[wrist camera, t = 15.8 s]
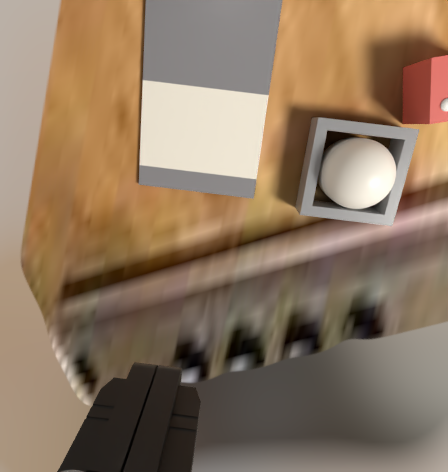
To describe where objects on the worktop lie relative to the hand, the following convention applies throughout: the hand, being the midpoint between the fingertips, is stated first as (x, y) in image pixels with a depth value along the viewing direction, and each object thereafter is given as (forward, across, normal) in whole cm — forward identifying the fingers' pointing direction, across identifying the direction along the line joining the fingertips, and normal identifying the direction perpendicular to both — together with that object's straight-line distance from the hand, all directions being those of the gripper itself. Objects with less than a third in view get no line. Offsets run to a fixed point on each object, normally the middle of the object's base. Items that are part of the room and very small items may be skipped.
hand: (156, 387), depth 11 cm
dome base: (+27, -13, -5) cm, 30 cm away
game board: (+27, +2, -15) cm, 31 cm away
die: (+27, -19, -13) cm, 35 cm away
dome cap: (+27, -13, -5) cm, 30 cm away
